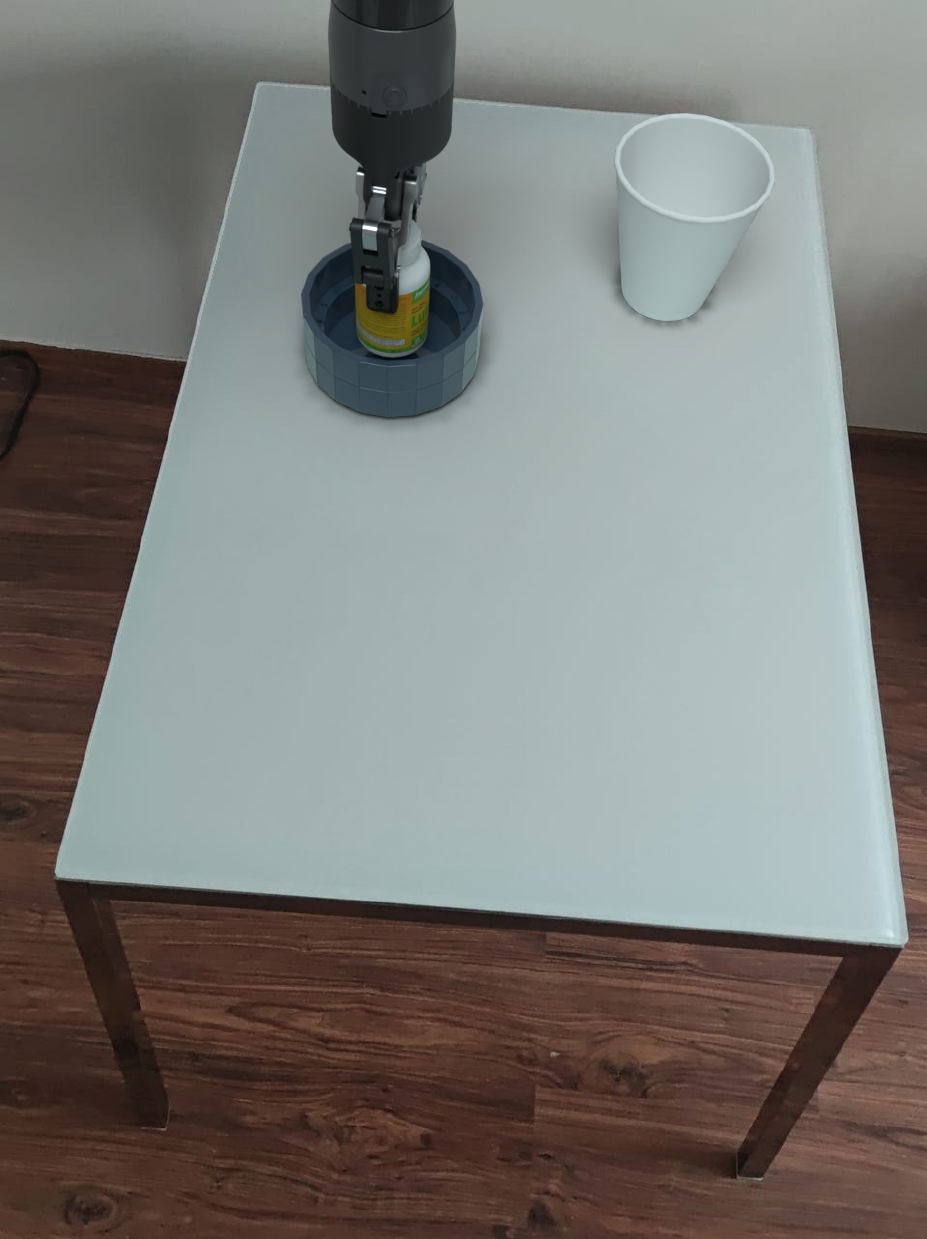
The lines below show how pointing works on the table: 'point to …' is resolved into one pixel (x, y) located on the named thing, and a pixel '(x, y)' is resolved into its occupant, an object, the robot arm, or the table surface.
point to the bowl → (383, 379)
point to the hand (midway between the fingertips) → (391, 278)
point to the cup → (684, 208)
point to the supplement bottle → (411, 318)
